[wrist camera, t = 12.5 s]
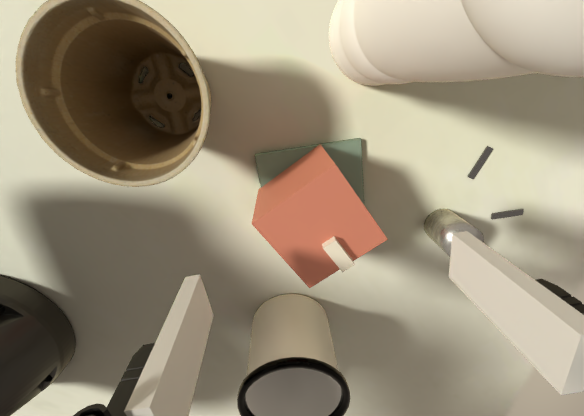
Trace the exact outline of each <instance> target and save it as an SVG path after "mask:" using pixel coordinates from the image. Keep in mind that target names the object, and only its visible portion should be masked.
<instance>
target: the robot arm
mask: <svg viewBox="0 0 584 416" xmlns="http://www.w3.org/2000/svg"><path fill="white" fill-rule="evenodd" d="M449 278H450V279H451V280H452V281H453V282H454V283H455V284H456V285H457V286H458V287H459V289H460V290H461V291H462V292H463V293H464V294H465V295H466V296H467V297H468V298H469V299H470V300H471V301H472V302H473V303H474V304H475V305H476V306H477V307H478V309H479V310H480V311H481V312H482V313H483V314H484V315H485V316H486V317H487V318H488V319H489V320H490V321H491V322H492V323H493V324H494V325H495V326H496V327H497V329H498V330H499V331H500V332H501V333H502V334H503V335H504V336H505V337H506V338H507V339H508V340H509V341H510V342H511V343H512V344H513V345H514V346H515V347H516V349H517V350H518V351H519V352H520V353H521V354H522V355H523V356H524V357H525V358H526V359H527V360H528V361H529V362H530V363H531V364H532V365H533V366H534V367H535V369H536V370H538V372H539V373H540V374H541V375H542V376H543V377H544V378H545V379H546V380H547V381H548V382H549V383H550V384H551V385H552V386H553V387H554V389H555V390H556V391H557V392H558V393H559V394H560V395H567V394H572V393H578V392H583V391H584V305H583V304H582V302H581V301H579V300H578V299H576V298H575V297H572V296H571V295H570V294H569V293H567V292H566V291H564V290H563V289H562V288H560V287H559V286H557V285H555V284H552V283H550V282H548V281H545V280H543V279H537V280H534V279H533V278H532V277H530V276H529V275H527V274H526V273H525V272H523V271H522V270H520V269H519V268H518V267H516V266H515V265H513V264H512V263H511V262H509V261H508V260H507V259H505V258H504V257H502V256H501V255H500V254H498V253H497V252H495V251H494V250H493V249H491V248H490V247H488V246H487V245H486V244H484V243H483V242H482V241H480V240H479V239H477V238H476V237H475V236H473V235H472V234H470V233H469V232H468V231H464V232H458V233H452V243H451V255H450V267H449ZM213 316H214V315H213V312H212V309H211V306H210V303H209V300H208V297H207V294H206V291H205V288H204V284H203V281H202V278H201V275H200V274H199V275H193V276H187V277H185V279H184V281H183V283H182V285H181V288H180V290H179V292H178V294H177V296H176V298H175V301H174V303H173V305H172V307H171V309H170V312H169V314H168V316H167V318H166V320H165V323H164V325H163V327H162V329H161V331H160V334H159V336H158V338H157V340H156V342H155V343H153V344H147V345H143V346H142V347H141V348H140V349H139V350H138V352H137V353H136V354H135V355H134V356H133V357H132V359H131V361H130V363H129V365H128V367H127V371H125V373H124V375H123V377H122V379H121V382H120V383H119V385H118V387H117V389H116V390H115V392H114V394H113V396H112V398H111V400H110V402H109V404H108V406H107V408H106V407H105V406H104V405H102V404H94V405H90V406H87V407H86V408H84V409H82V410H80V411H78V412H77V413H76V414H75V415H74V416H188V415H189V411H190V407H191V404H192V400H193V396H194V392H195V388H196V384H197V380H198V376H199V372H200V368H201V364H202V360H203V356H204V352H205V348H206V344H207V340H208V336H209V332H210V328H211V324H212V320H213ZM74 350H75V337H74V333H73V330H72V327H71V325H70V323H69V321H68V320H67V318H66V317H65V315H64V314H63V313H62V312H61V311H60V309H59V308H58V307H57V306H56V305H55V304H53V303H52V302H51V301H50V300H49V299H48V298H46V297H45V296H43V295H42V294H40V293H39V292H37V291H36V290H34V289H32V288H30V287H28V286H26V285H24V284H22V283H20V282H17V281H15V280H12V279H9V278H6V277H2V276H0V416H11V415H12V414H13V413H14V412H16V411H17V410H18V409H20V408H21V407H22V406H23V405H25V404H26V403H27V402H29V401H30V400H31V399H32V398H34V397H35V396H36V395H38V394H39V393H40V392H41V391H43V390H44V389H45V388H47V387H48V386H49V385H50V384H51V383H52V382H53V381H54V380H55V379H56V378H57V377H58V376H59V374H60V373H61V372H62V370H63V369H64V368H65V367H66V365H67V364H68V363H69V361H70V360H71V358H72V356H73V353H74Z"/></svg>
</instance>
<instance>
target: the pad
mask: <svg viewBox="0 0 584 416" xmlns="http://www.w3.org/2000/svg"><path fill="white" fill-rule="evenodd" d="M318 145H319V144H317V145H310V146H304V147H297V148H291V149H285V150H278V151H272V152H265V153H259V154H255V159H256V164H257V169H258V174H259V179H260V184H261V187H263V186H264V185H265V184H267V183H268V182H269V181H271V180H272V179H273V178H275V177H276V176H277V175H279V174H280V173H282V172H283V171H284V170H286V169H287V168H288V167H290V166H291V165H292V164H294V163H295V162H296V161H298V160H299V159H301V158H302V157H303V156H305V155H306V154H307V153H309V152H310V151H311V150H313V149H314V148H315V147H317V146H318ZM321 146H322V147H323V148H324V150H325V151H326V152H327V154H328V155H329V156H330V158H331V159H332V160H333V162H334V163H335V164H336V166H337V167H338V169H339V170H340V171H341V173H342V174H343V176H344V177H345V179H346V180H347V181H348V183H349V184H350V186H351V187H352V189H353V190H354V192H355V193H356V194H357V196H358V197H359V199H360V200H361V202H362V203H363V204H364V189H363V169H362V149H361V139H360V138H356V139H349V140H343V141H336V142H330V143H323V144H321Z"/></svg>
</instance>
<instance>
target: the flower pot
mask: <svg viewBox="0 0 584 416" xmlns="http://www.w3.org/2000/svg"><path fill="white" fill-rule="evenodd" d="M180 63H184V64H186V65H187V66H188V67H189V68H190V69H191V70H192V71H193V73H194V75H193V76H192V77H190V76H189V75H188V74H186V73H185V72H184V71H183V70H181V69H180V68H179V65H180ZM144 67H146V68H147V69H148V74H147V75H146V76H145V78H144V80H143V82H142V83H139V79H140V78H139V76H140V74H141V72H142V70H143V68H144ZM16 80H17V86H18V89H19V92H20V97H21V99H22V103H23V106H24V108H25V110H26V113H27V114H28V117H29V119H30V120H31V122H32V124H33V125H34V127H35V129H36V130H37V131H38V133H39V135H40V136H41V138H42V139H43V140H44V141H45V142H46V143H47V144H48V146H49V147H50V148H51V149H52V150H53V151H54V152H55V153H56V154H57V155H58V156H59V157H61V158H62V159H63V160H65V161H66V162H68V163H69V164H70V165H72V166H73V167H74V168H76V169H77V170H80V171H81V172H83V173H85V174H87V175H89V176H91V177H94V178H96V179H98V180H101V181H104V182H107V183H111V184H115V185H121V186H132V187H139V186H149V185H154V184H158V183H161V182H164V181H167V180H169V179H171V178H173V177H174V176H176V175H177V174H179V173H180V172H182V171H183V170H184V169H185V168H186V167H187V166H188V165H189V164H190V163H191V162H192V161H193V160H194V159H195V157H196V156H197V155H198V153H199V151H200V150H201V148H202V146H203V143H204V141H205V139H206V135H207V132H208V128H209V122H210V109H211V93H210V88H209V85H208V82H207V80H206V78H205V76H204V73H203V71H202V68H201V66H200V64H199V62H198V60H197V58H196V56H195V54H194V52H193V51H192V49H191V48H190V46H189V45H188V43H187V42H186V40H185V39H184V38H183V36H182V35H181V34H180V33H179V32H178V31H177V29H176V28H175V27H174V26H173V25H172V24H171V23H170V22H169V21H167V20H166V19H165V18H164V17H163V16H162V15H160V14H159V13H158V12H156V11H155V10H154V9H152V8H151V7H149V6H148V5H146V4H144V3H143V2H141V1H139V0H48V1H46V2H45V3H43V4H42V5H41V6H40V7H39V8H38V10H37V11H36V12H35V13H34V15H33V16H32V17H31V18H30V19H29V20H28V22H27V24H26V26H25V27H24V30H23V32H22V34H21V38H20V41H19V44H18V50H17V56H16ZM168 93H170V94H172V98H171V99H168V97H167V94H168ZM199 109H200V110H201V114H200V116H199V117H198V119H197V120H195V121H193V118H194V117H195V113H197V112H198V111H199ZM150 116H152V117H153V118H154V119H156V120H157V121H159V122H160V123H162V124H164V127H163V128H162V127H158V126H156V125H155V124H153V123H152V122H151V120H150V118H149V117H150Z"/></svg>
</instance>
